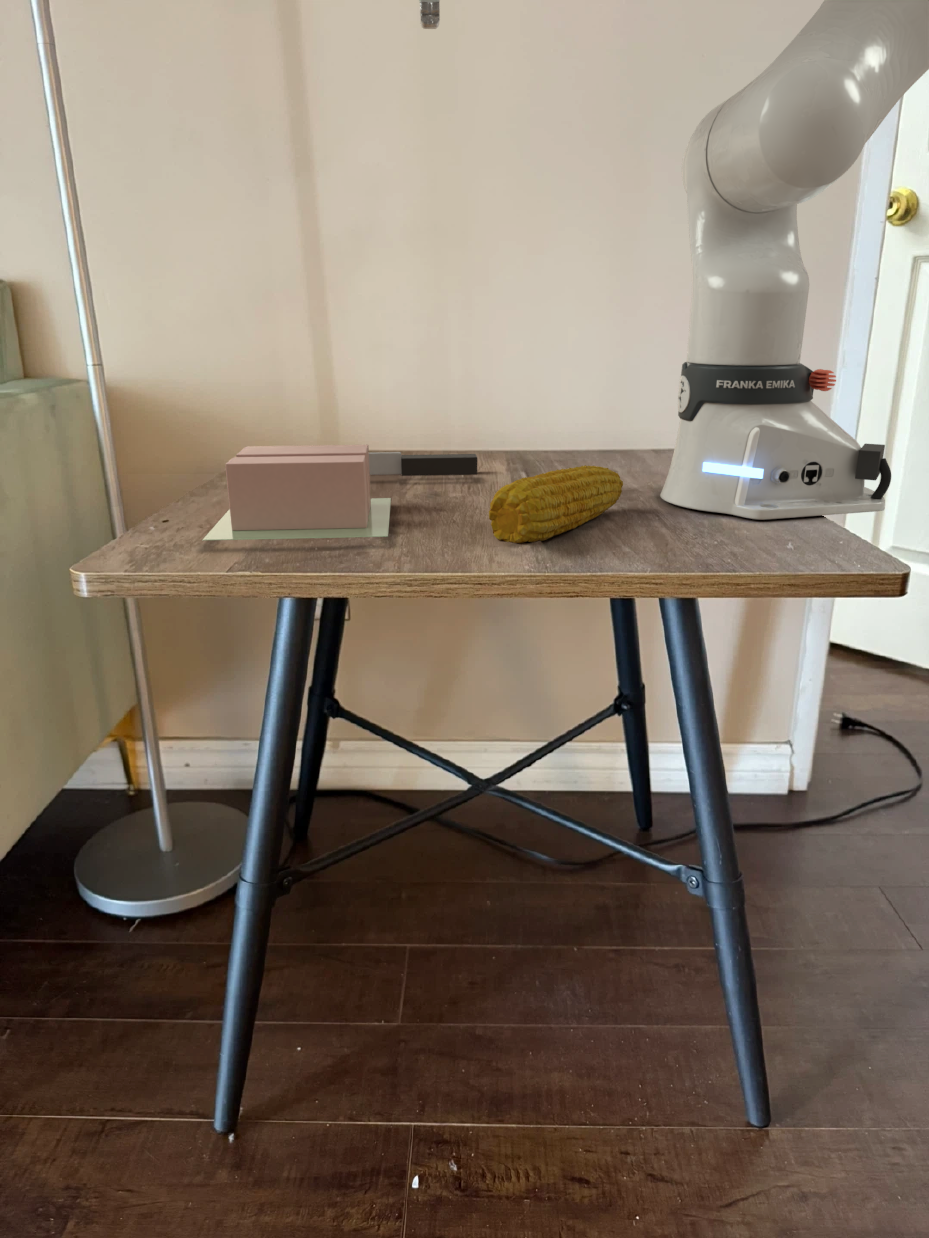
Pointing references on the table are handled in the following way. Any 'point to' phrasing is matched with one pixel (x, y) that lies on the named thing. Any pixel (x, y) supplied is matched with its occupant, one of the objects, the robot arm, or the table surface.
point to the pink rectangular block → (311, 454)
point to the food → (552, 502)
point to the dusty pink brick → (297, 492)
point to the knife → (422, 464)
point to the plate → (375, 528)
